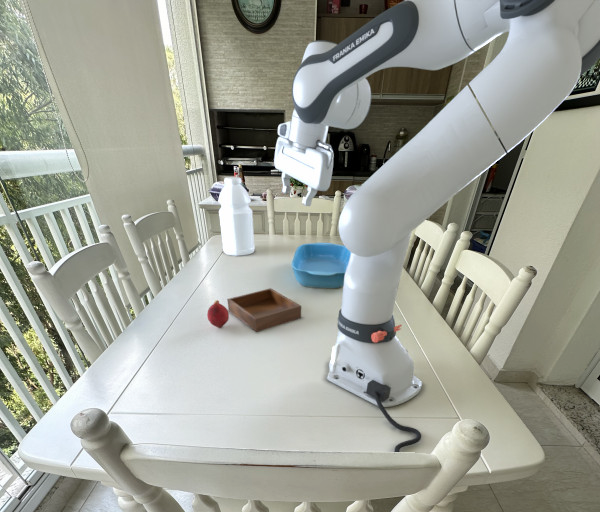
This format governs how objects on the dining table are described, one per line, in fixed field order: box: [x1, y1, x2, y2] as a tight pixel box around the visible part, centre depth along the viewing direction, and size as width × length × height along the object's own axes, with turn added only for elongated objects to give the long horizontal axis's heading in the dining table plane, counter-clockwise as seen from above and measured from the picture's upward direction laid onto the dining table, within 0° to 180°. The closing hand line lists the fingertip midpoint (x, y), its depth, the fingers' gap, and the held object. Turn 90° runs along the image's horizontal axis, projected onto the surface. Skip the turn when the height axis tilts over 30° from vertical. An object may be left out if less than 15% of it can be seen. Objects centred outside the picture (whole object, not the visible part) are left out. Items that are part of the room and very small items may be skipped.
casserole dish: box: [291, 242, 351, 289], centre depth 133 cm, size 37×22×7 cm, turn 175°
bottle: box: [217, 176, 256, 257], centre depth 148 cm, size 14×14×28 cm
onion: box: [206, 299, 230, 329], centre depth 98 cm, size 6×6×8 cm
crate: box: [226, 287, 302, 333], centre depth 106 cm, size 17×16×4 cm
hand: (295, 199), depth 93 cm, fingers open, 8 cm apart
